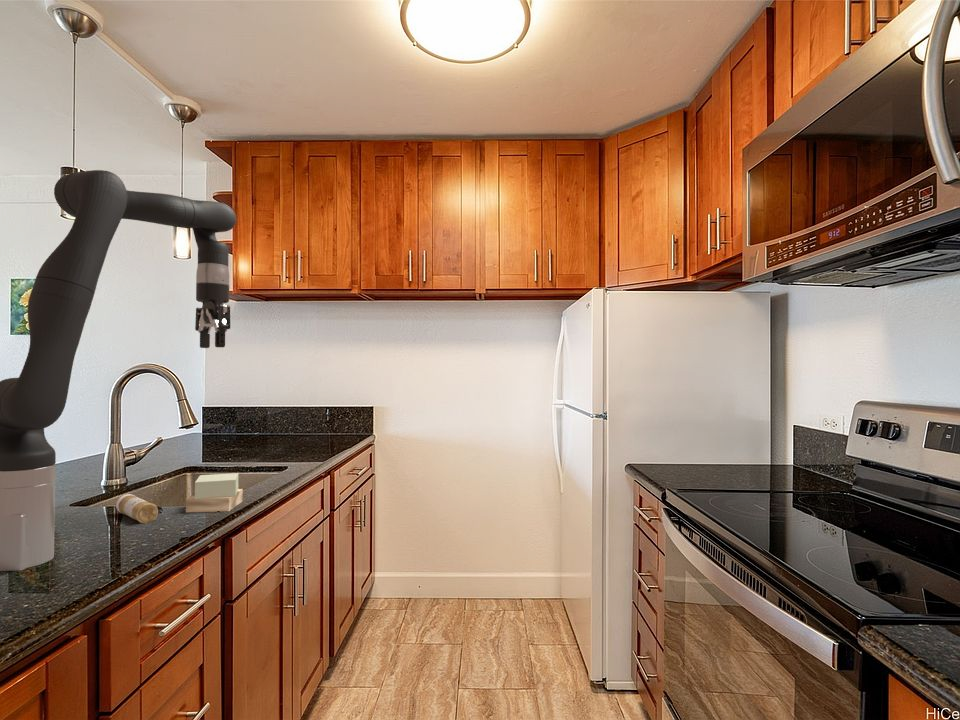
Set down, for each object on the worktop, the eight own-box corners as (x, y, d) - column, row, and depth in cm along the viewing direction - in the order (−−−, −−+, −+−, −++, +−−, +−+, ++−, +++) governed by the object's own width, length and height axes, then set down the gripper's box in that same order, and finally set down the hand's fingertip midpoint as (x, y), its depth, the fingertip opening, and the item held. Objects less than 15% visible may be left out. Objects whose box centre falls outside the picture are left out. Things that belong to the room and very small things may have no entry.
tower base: (228, 514, 134) (229, 498, 134) (185, 515, 134) (186, 498, 134) (242, 504, 144) (242, 488, 144) (202, 504, 143) (202, 489, 144)
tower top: (235, 496, 136) (235, 479, 136) (194, 498, 133) (194, 482, 133) (238, 488, 145) (238, 473, 145) (200, 490, 142) (200, 475, 142)
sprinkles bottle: (162, 512, 127) (141, 502, 136) (149, 499, 125) (128, 489, 134) (145, 528, 125) (124, 517, 133) (131, 515, 122) (110, 504, 131)
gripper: (241, 282, 138) (240, 347, 138) (215, 287, 147) (214, 348, 147) (210, 278, 132) (209, 346, 132) (185, 284, 142) (184, 347, 141)
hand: (212, 347), depth 140 cm, fingers open, 8 cm apart
